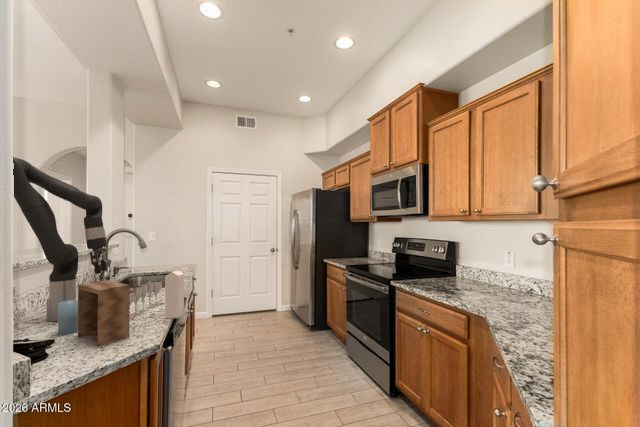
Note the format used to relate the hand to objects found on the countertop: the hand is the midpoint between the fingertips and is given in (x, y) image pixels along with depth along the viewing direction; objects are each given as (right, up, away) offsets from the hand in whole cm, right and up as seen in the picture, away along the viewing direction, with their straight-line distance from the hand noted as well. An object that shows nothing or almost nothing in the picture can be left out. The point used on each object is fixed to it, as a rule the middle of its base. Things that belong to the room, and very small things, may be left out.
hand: (101, 272), depth 141 cm
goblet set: (+16, -20, +6) cm, 27 cm away
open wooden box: (+20, -19, -27) cm, 39 cm away
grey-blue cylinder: (+3, -19, -22) cm, 30 cm away
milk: (+36, -20, -3) cm, 41 cm away
